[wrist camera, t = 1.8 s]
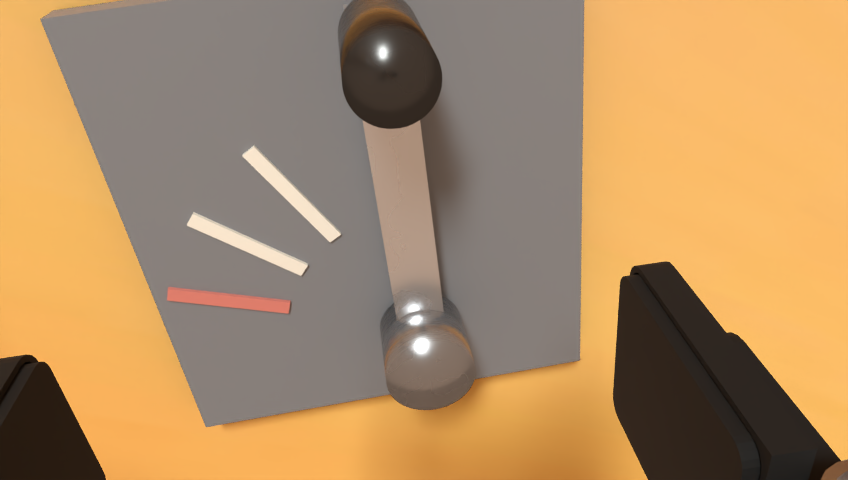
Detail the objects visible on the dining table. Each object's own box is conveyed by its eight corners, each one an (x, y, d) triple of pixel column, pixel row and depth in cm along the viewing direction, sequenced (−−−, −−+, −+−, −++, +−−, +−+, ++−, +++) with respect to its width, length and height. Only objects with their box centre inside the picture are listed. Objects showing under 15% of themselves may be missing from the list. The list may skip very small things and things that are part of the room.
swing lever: (464, 350, 37) (493, 455, 31) (386, 363, 37) (399, 472, 31) (424, -24, 27) (456, 19, 21) (315, -8, 27) (313, 41, 20)
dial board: (53, 10, 28) (38, 20, 26) (573, -65, 29) (586, -60, 27) (209, 408, 40) (205, 429, 38) (571, 344, 41) (581, 362, 39)
